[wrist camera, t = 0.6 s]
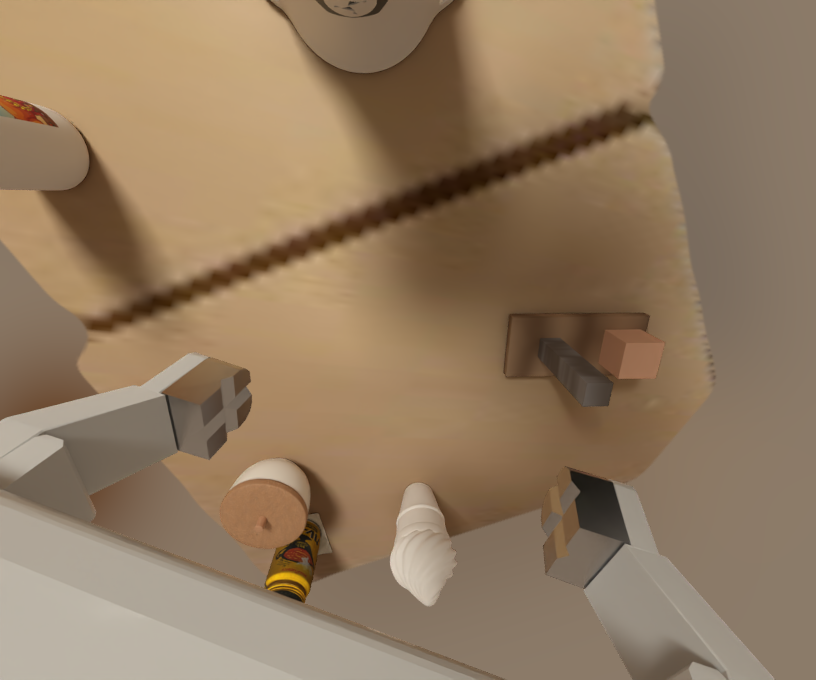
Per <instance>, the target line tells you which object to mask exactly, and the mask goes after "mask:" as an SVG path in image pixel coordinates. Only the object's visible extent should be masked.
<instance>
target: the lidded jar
mask: <svg viewBox="0 0 816 680" xmlns="http://www.w3.org/2000/svg"><path fill="white" fill-rule="evenodd" d="M310 498H311V492H310V485H309V482H308V479H307V477H306V475H305V473H304V472H303V471H302V470H301V469H300V468H299V467H298V466H297V465H296V464H295V463H294V462H292V461H290V460H288V459H284V458H273V459H266V460H262V461H260V462H257V463H255V464H253V465H252V466H250V467H249V468H247V469H246V470H245V471H244V472H243V473H242V474H241V475H240V476H239V478H238V479H237V480H236V481H235V483H234V484H233V486H232V487H231V489H230V491H229V492H228V493H227V495H226V496H225V497H224V499H223V501H222V503H221V506H220V519H221V522H222V524H223V526H224V528H225V530H226V531H227V532H228V533H229V534H230V535H231V536H232V537H233V538H234V539H236V540H238V541H239V542H241V543H243V544H245V545H248V546H251V547H256V548H263V549H272V548H278V547H282V546H285V545H287V544H290V543H291V542H293V541H295V540H296V539H297V538H298V537H299V536H300V535H301V534H302V532H303V531H304V529H305V526H306V523H307V518H308V512H309V507H310Z"/></svg>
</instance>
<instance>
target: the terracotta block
mask: <svg viewBox="0 0 816 680" xmlns="http://www.w3.org/2000/svg"><path fill="white" fill-rule="evenodd" d="M664 346H665V342H663V341H661V340H660V339H658V338H656V337H654V336H652V335H650V334H648V333H647V332H645V331H643V330H641V329H628V330H605V332H604V337H603V342H602V347H601V352H600V357H599V362H598V363H599V364H600V365H601V366H603V367H604V368H605V369H606V370H608V371H609V372H610V373H611V374H613V375H614V376H615V377H616V378H618V379H648V378H656V376H657V372H658V368H659V365H660V361H661V357H662V353H663V350H664Z"/></svg>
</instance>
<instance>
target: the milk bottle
mask: <svg viewBox="0 0 816 680" xmlns="http://www.w3.org/2000/svg"><path fill="white" fill-rule="evenodd" d="M89 163H90V162H89V153H88V149H87V146H86V144H85V142H84V139H83V138H82V136H81V135H80V133H79V131H78V130H77V129H76V128H75V127H74V126H73V124H71V123H70V122H69V121H68V120H67V119H66V118H64V117H63V116H62V115H60V114H59V113H57V112H55V111H53V110H51V109H49V108H46V107H43V106H39V105H36V104H32V103H28V102H25V101H21V100H17V99H13V98H9V97H5V96H2V95H0V189H3V190H67V189H71V188H73V187H75V186H77V185H78V184H79V183H81V182H82V181H83V179H84V178H85V177H86V175H87V172H88V170H89Z"/></svg>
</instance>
